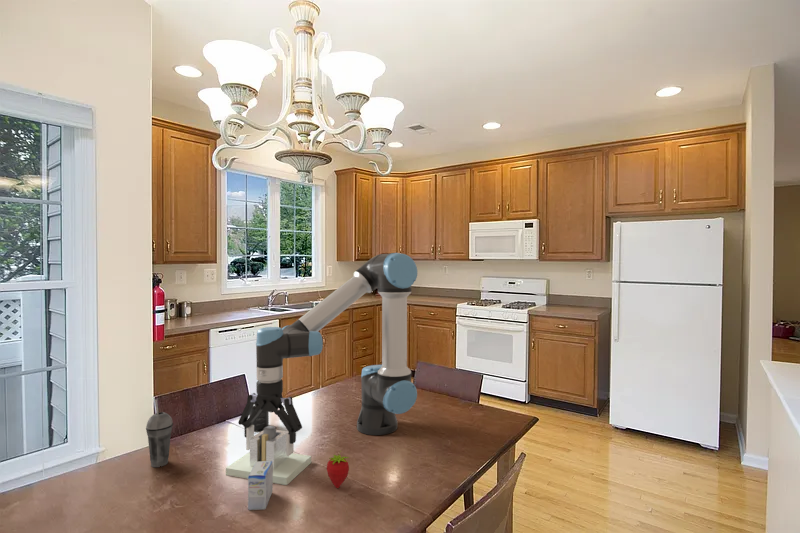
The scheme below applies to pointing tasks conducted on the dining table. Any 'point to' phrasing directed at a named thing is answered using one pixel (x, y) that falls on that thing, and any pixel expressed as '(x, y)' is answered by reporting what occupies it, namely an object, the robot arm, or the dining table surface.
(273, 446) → the keyed collar
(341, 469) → the strawberry
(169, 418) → the beverage cup
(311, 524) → the dining table surface
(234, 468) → the shaft stand
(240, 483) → the dining table surface
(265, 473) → the medicine box
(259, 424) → the supplement bottle
